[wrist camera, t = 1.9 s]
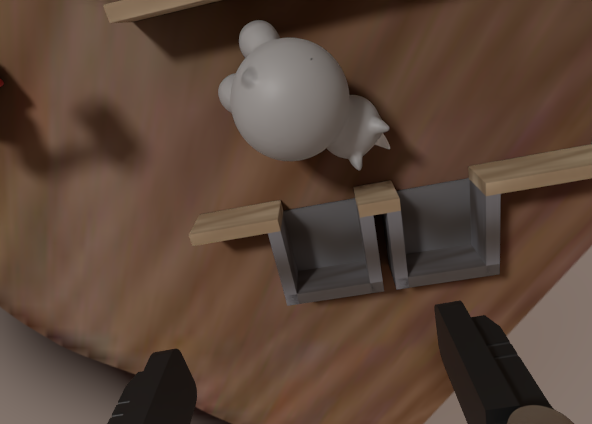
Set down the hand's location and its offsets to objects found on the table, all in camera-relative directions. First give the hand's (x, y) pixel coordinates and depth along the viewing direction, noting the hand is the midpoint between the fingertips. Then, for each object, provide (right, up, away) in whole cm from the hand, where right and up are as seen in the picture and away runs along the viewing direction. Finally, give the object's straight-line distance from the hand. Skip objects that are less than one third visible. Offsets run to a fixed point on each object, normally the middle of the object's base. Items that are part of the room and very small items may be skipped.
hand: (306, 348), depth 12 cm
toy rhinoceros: (+1, +13, +17) cm, 21 cm away
